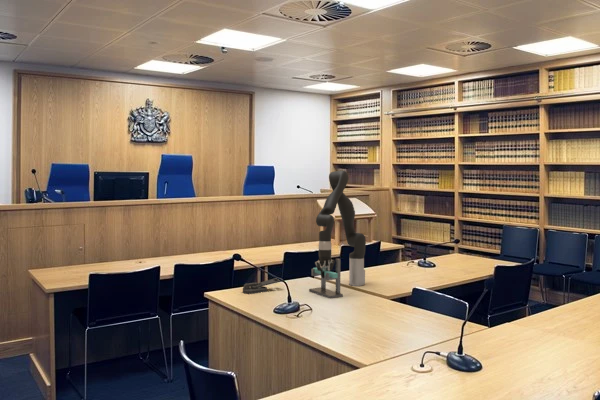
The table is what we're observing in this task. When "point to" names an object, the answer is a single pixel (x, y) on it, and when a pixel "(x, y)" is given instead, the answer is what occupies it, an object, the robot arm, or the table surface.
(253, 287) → the dark grey elongated piece
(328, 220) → the robot arm
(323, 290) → the hook rack
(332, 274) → the teal rail
